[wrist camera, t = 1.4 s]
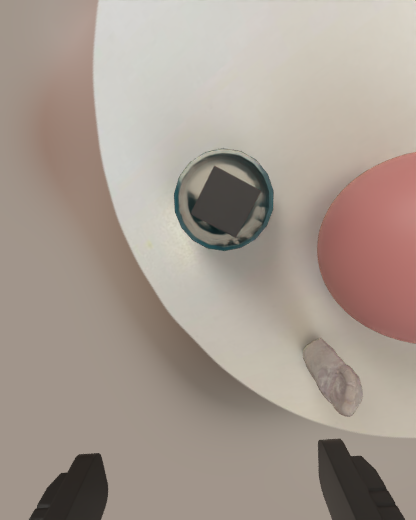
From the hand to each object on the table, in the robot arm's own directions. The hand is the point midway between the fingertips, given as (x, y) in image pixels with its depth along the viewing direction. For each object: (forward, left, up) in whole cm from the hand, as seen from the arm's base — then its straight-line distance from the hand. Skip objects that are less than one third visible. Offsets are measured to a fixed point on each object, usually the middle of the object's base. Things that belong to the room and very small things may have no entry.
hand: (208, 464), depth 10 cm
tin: (-5, +8, -23) cm, 24 cm away
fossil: (+15, +1, -23) cm, 27 cm away
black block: (-5, +8, -22) cm, 24 cm away
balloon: (+11, +17, -23) cm, 30 cm away
